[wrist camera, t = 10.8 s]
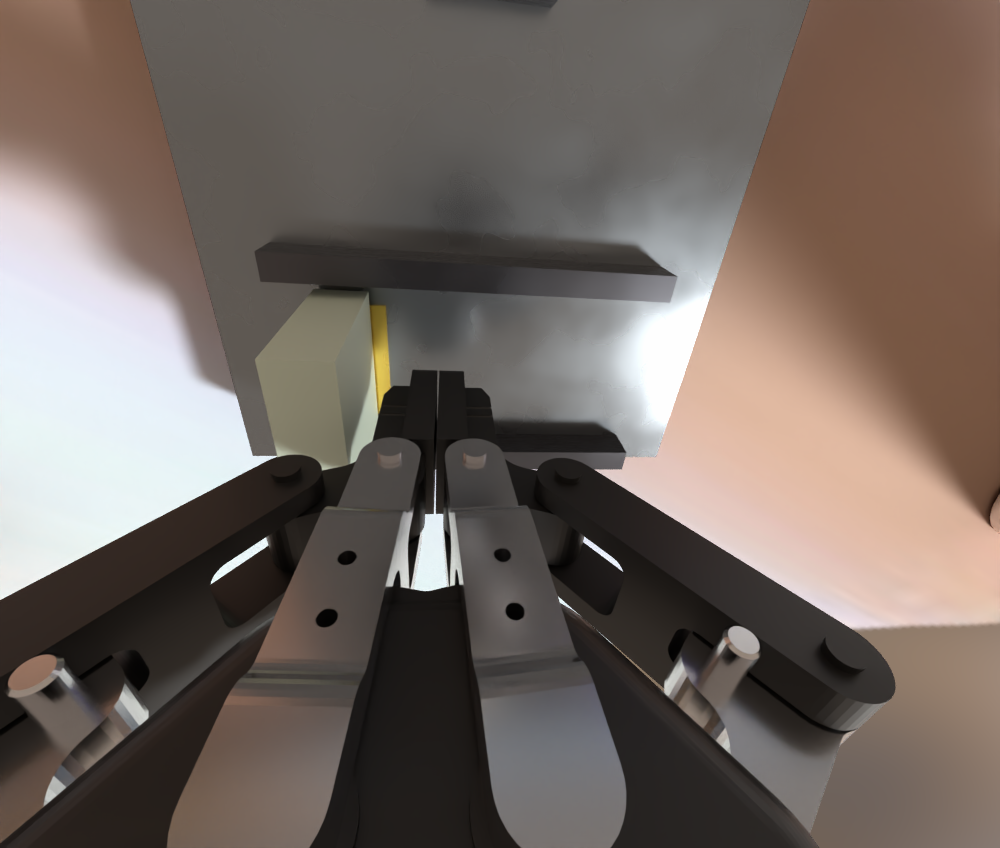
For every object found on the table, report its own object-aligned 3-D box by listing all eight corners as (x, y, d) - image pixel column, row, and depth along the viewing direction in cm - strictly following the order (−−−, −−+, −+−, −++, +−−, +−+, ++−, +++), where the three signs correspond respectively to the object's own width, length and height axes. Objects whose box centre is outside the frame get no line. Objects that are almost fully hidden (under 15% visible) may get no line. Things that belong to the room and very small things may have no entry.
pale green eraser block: (368, 291, 14) (335, 361, 9) (379, 428, 16) (356, 529, 12) (313, 289, 13) (254, 359, 9) (333, 427, 16) (294, 530, 12)
